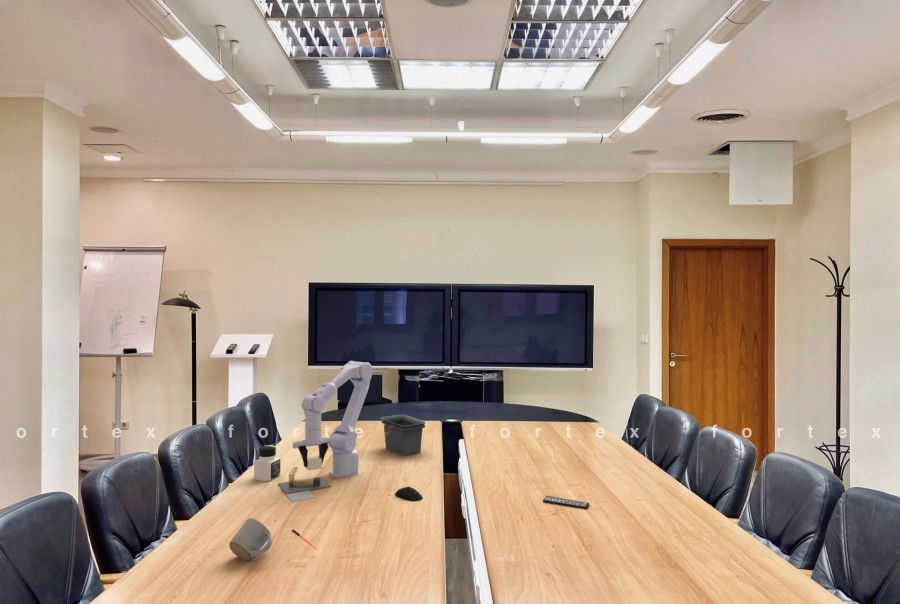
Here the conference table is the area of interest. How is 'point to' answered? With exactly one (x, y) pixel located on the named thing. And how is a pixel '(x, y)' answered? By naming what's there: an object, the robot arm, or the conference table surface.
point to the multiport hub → (566, 502)
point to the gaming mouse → (409, 494)
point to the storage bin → (403, 434)
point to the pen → (302, 537)
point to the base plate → (303, 487)
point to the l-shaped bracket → (302, 481)
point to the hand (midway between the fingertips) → (313, 465)
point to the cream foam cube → (314, 463)
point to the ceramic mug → (251, 540)
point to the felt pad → (300, 496)
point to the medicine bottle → (267, 464)
